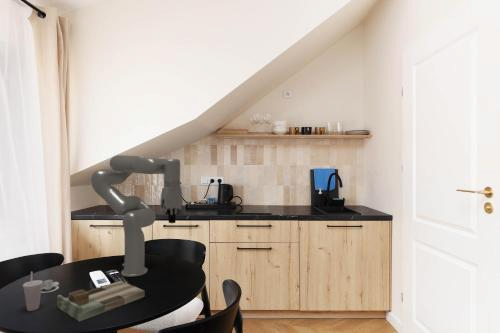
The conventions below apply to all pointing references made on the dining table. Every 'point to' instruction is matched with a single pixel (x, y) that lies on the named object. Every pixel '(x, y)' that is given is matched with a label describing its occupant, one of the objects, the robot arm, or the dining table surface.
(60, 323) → the dining table surface
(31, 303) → the smoothie
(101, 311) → the board
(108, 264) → the dining table surface
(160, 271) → the dining table surface
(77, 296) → the walnut block
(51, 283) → the teacup and saucer
